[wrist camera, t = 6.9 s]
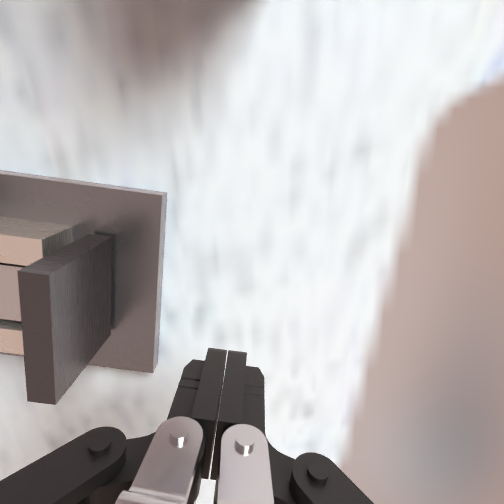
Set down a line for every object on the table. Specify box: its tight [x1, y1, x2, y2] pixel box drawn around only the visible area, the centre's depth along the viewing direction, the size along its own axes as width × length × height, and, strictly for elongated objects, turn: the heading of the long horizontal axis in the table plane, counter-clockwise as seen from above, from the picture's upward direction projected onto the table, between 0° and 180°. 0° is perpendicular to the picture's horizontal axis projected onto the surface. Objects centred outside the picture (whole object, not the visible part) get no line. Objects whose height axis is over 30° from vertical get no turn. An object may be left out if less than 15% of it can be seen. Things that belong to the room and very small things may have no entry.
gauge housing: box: [0, 170, 167, 373], centre depth 17 cm, size 11×14×7 cm
